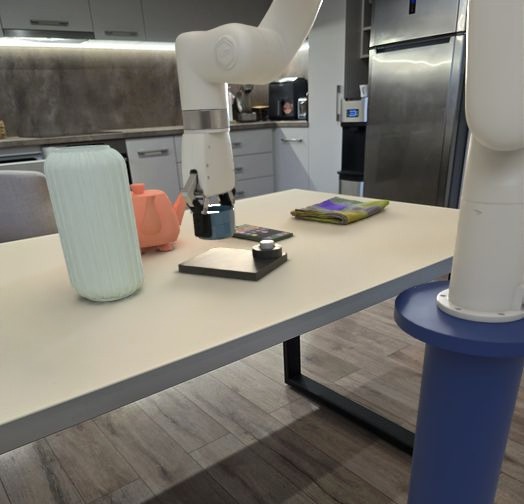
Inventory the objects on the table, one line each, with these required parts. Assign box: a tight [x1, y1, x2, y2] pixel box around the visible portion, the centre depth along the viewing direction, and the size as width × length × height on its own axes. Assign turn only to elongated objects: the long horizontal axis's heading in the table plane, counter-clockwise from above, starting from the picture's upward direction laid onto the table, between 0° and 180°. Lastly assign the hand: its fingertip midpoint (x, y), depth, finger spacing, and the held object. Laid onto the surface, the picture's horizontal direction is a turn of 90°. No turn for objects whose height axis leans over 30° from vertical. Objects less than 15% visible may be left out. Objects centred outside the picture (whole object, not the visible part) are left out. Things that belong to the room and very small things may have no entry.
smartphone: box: [232, 223, 294, 243], centre depth 110 cm, size 8×15×1 cm, turn 48°
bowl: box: [198, 204, 237, 241], centre depth 85 cm, size 7×7×5 cm
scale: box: [177, 242, 288, 282], centre depth 89 cm, size 16×13×3 cm
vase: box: [43, 144, 145, 303], centre depth 74 cm, size 12×12×22 cm
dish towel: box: [290, 196, 390, 225], centre depth 128 cm, size 18×24×3 cm
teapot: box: [129, 182, 187, 255], centre depth 101 cm, size 16×17×14 cm
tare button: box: [259, 240, 275, 249], centre depth 89 cm, size 3×3×1 cm
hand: (215, 231), depth 86 cm, fingers closed on bowl, 7 cm apart
